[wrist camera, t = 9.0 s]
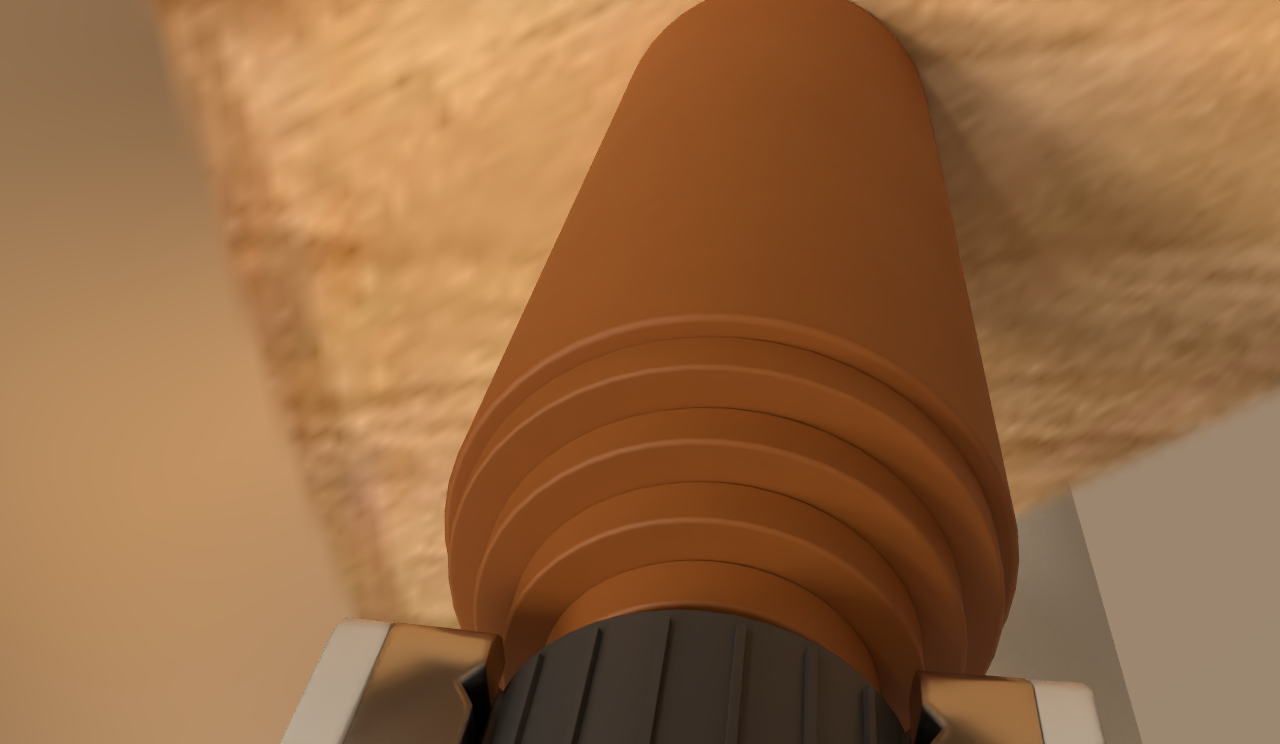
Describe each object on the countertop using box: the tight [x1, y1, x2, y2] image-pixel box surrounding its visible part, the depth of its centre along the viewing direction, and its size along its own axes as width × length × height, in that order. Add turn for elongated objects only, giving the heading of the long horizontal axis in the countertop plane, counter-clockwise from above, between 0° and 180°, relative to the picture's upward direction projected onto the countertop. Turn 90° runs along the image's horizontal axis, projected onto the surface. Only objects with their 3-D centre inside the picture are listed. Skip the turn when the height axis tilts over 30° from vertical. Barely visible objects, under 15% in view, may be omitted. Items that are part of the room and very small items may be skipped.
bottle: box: [445, 0, 1019, 732], centre depth 18 cm, size 6×6×19 cm
